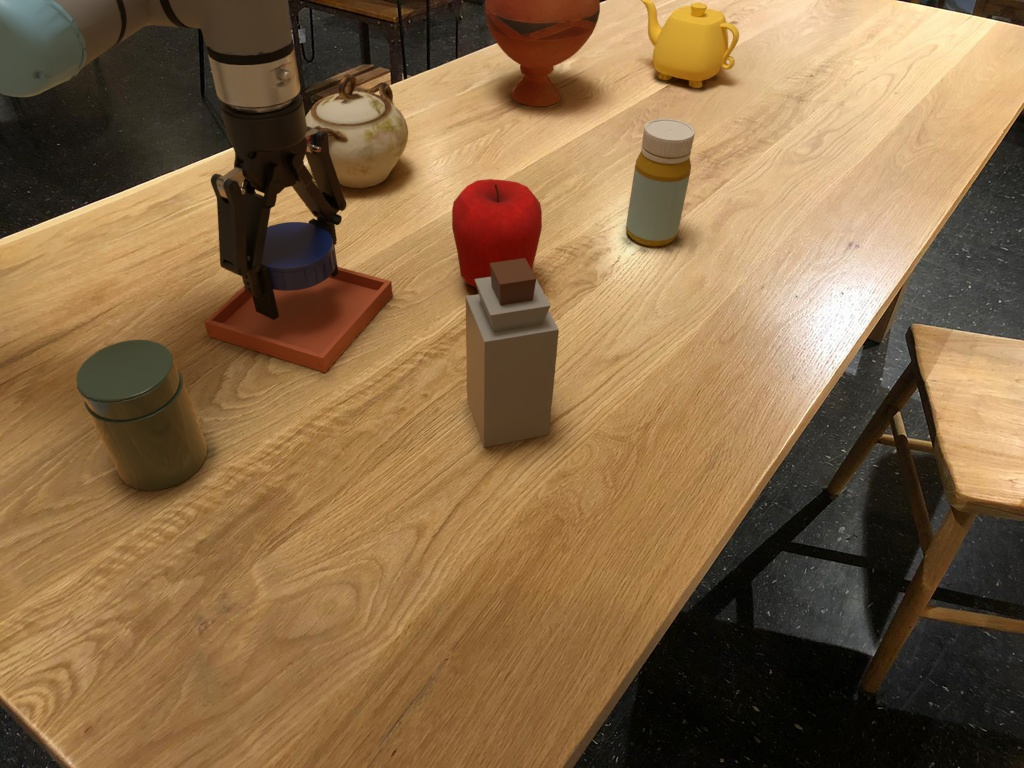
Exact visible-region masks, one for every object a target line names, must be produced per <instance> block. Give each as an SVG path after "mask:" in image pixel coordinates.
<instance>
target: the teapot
mask: <svg viewBox="0 0 1024 768" xmlns="http://www.w3.org/2000/svg"><path fill="white" fill-rule="evenodd" d="M640 1H641V2H642V3H643V5H645V8H646V11H647V35H648V39H649V41H650V43H651V44H652V46H654V47H653V51H652V63H653V66H654V68H655V70H656V71H657V72H658V73H659V74H658V76H657V78H658V79H659V80H662V81H670V80H672V78H677V79H682V80H686V81H688V86H689V87H691V88H696V89H700V88H702V87H703V81H705V80H708V79H711V78H712V77H715V76H716V75H717V74H718V73H719V72H720V70H721V69H722V70H731V69H733V67H734V66H735V62H736V60H735V58H734V56H730V55H731V54H732V52H733V51H734V49H735V47H736V46H737V44H738V42H739V39H740V32H739V29H738V28H737V26H735V25H734V23H731V22H727V21H726V20H727V19H726V16H725V14H724V13H723V12H722V11H718V10H715V9H711V8H708V5H707V4H706V3H703V2H692V3H691V4H690V5H685V6H681V7H678V8H677V9H674V10H673V11H672V12H671V13H670V14H669V16H668V17H667V19H666V20H665V23H664V24H663V26H662V27H661V25H660V24H659V23H660V22H659V20H658V11H657V8H656V7H657V6H656V5H655V3H654V2H653V1H651V0H640ZM728 31H730V32H731V34H732V39H731V42H730V44H729V32H728ZM727 61H729V63H727Z"/></svg>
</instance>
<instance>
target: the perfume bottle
mask: <svg viewBox="0 0 1024 768" xmlns="http://www.w3.org/2000/svg"><path fill="white" fill-rule="evenodd" d="M490 274H491V277H485V278H479V279H475V283H476V286H477V288H476V290H477V293H478V294H477V293H476V294H470V295H469V294H468V295H465V335H466V336H465V346H466V348H465V349H466V354H465V355H466V357H465V358H466V359H465V360H466V402H467V404H468V407H469V410H470V414H471V416H472V419H473V421H474V424H475V426H476V430H477V432H478V434H479V438H480V441H481V444H482V446H483V448H487V447H493V446H498V445H503V444H509V443H513V442H518V441H523V440H528V439H532V438H538V437H543V436H548V435H550V431H551V420H552V419H551V418H552V407H553V396H554V386H555V374H556V363H557V354H558V353H557V352H558V344H559V332H560V330H559V329H560V328H559V327H558V325H557V323H556V321H555V320H554V317H553V316H552V313H551V311H550V308H551V307H552V305H551V303H550V301H549V299H548V297H547V295H546V294H545V292H544V290H543V289H542V286H541V285H540V282H539V281H538V279H537V277H536V275H535V273H534V271H533V269H532V270H531V268H530V266H529V264H528V262H527V261H526V259H525V258H522V259H515V260H508V261H501V262H494V263H490Z"/></svg>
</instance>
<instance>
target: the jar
mask: <svg viewBox="0 0 1024 768" xmlns="http://www.w3.org/2000/svg"><path fill="white" fill-rule="evenodd" d="M76 389H77V391H78V392H79V394H80V396H81V397H83V399H84V406H85V409H86V411H87V413H88V416H89V418H90V419H91V422H92V423H93V426H94V428H95V429H96V430H95V431H96V432H97V433H98V435H99V438H100V440H101V442H102V444H103V446H104V448H105V449H106V451H107V454H108V456H109V458H110V460H111V462H112V464H113V466H114V467H115V470H116V472H117V474H118V476H119V478H120V479H121V481H123V483H125V484H126V485H127V486H129V487H130V488H133V489H135V490H140V491H145V492H146V491H148V492H151V491H162V490H166V489H170V488H172V487H175V486H178V485H181V484H182V483H184V482H186V481H187V480H188V479H190V478H191V477H192V476H194V475H195V474H196V473H197V472H198V471H199V470H200V469H201V467H202V466H203V465H204V463H205V461H206V459H207V455H208V444H207V441H206V438H205V435H204V433H203V430H202V427H201V425H200V422H199V419H198V417H197V414H196V411H195V408H194V405H193V401H192V400H191V399H192V398H191V397H190V394H189V391H188V389H187V386H186V383H185V380H184V378H183V374H182V372H181V371H180V370H179V369H178V367H177V365H176V362H175V360H174V357H173V354H172V352H171V351H170V350H169V348H167V347H166V346H165V345H164V344H162V343H159V342H157V341H154V340H148V339H129V340H124V341H119V342H116V343H113V344H109V345H107V346H105V347H103V348H101V349H99V350H98V351H96V352H94V353H92V354H91V355H90V356H89V357H88V358H87V359H85V361H83V363H81V366H80V367H79V368H78V371H77V373H76Z"/></svg>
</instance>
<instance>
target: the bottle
mask: <svg viewBox="0 0 1024 768" xmlns="http://www.w3.org/2000/svg"><path fill="white" fill-rule="evenodd" d="M694 139H695V129H694V127H693V126H692V125H690V124H689V123H688V122H685V121H682V120H679V119H674V118H655V119H652V120H650V121H648V122H647V123H646V124H645V125H644V128H643V133H642V140H641V143H642V144H641V147H640V148H641V150H640V152H639V153H638V156H637V158H636V160H635V165H634V169H633V170H634V171H633V178H632V184H631V190H630V197H629V204H628V208H627V209H628V210H627V217H626V221H625V223H626V225H625V230H626V233H627V234H628V236H629V237H630V238H631V240H633V242H635V243H637V244H639V245H643V246H646V247H652V248H653V247H654V248H655V247H657V248H658V247H664V246H666V245H669V244H670V243H672V242H673V241H675V239H676V238H677V237H678V233H679V229H680V224H681V220H682V215H683V211H684V205H685V201H686V195H687V192H688V191H687V190H688V186H689V181H690V177H691V170H692V163H691V158H690V157H691V153H692V149H693V144H694Z"/></svg>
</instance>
